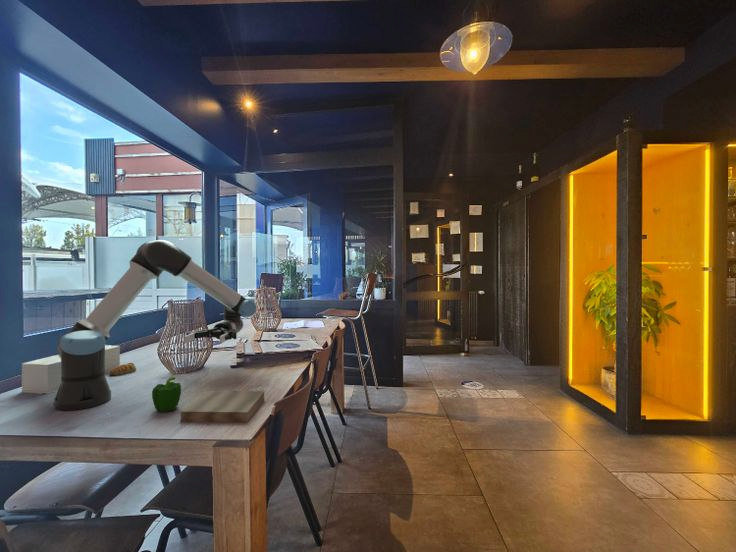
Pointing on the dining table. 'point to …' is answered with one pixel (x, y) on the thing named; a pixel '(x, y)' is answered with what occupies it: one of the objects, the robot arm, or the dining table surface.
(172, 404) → the bell pepper
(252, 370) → the dining table surface
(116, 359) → the long cream beam
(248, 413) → the walnut board
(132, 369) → the pastry
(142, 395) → the dining table surface
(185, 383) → the dining table surface
